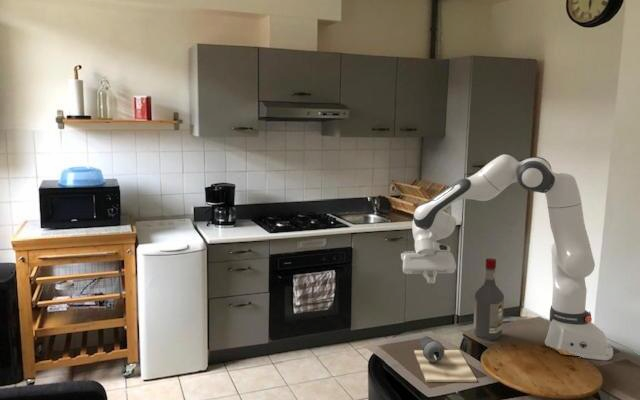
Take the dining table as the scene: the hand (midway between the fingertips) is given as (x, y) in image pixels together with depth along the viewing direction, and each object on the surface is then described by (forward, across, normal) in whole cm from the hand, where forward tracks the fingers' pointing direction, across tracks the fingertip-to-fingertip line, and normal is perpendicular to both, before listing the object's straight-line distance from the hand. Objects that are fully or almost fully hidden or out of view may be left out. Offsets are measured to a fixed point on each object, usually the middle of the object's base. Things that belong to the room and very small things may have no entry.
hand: (431, 282), depth 206 cm
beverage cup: (+21, -4, +6) cm, 22 cm away
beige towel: (+33, -1, -2) cm, 33 cm away
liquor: (+15, +22, +16) cm, 31 cm away
